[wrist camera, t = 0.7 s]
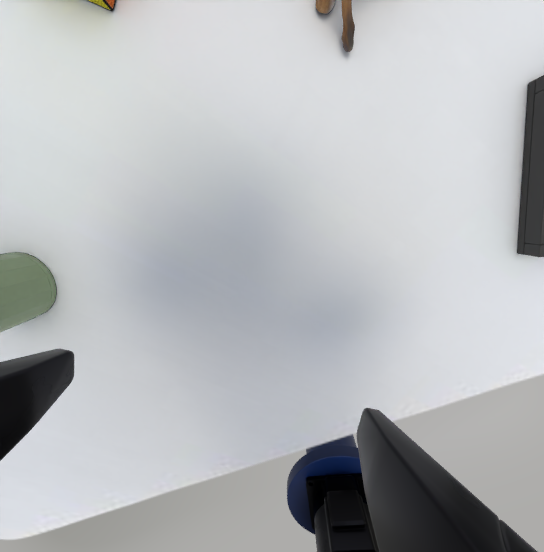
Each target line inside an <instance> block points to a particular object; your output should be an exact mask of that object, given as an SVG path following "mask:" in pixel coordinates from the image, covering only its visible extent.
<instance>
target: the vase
mask: <svg viewBox="0 0 544 552" xmlns="http://www.w3.org/2000/svg"><path fill="white" fill-rule="evenodd" d="M55 298H56V285H55V281H54V279H53V276H52V274H51V273H50V271H49V270H48V268H47V267H46V266H45V265H44V264H43V263H42V262H41V261H39V260H38V259H36V258H35V257H33V256H31V255H28V254H25V253H19V252H14V253H6V254H0V332H2V331H5V330H7V329H9V328H12V327H14V326H16V325H19V324H21V323H23V322H26V321H28V320H31V319H33V318H35V317H37V316H39V315H41V314H43V313H45V312H46V311H48V310H49V309H50V308H51V306H52V305H53V303H54V301H55Z"/></svg>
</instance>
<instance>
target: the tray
mask: <svg viewBox="0 0 544 552" xmlns="http://www.w3.org/2000/svg"><path fill="white" fill-rule="evenodd" d="M518 253H519V254H525V255H531V256H536V257H544V75H543V76H541V77H539V78H538V79H536V80H534V81H532V82H530V83H529V85H528V101H527V116H526V131H525V147H524V162H523V177H522V193H521V208H520V224H519V239H518Z"/></svg>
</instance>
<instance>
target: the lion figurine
mask: <svg viewBox="0 0 544 552" xmlns="http://www.w3.org/2000/svg"><path fill="white" fill-rule="evenodd" d="M335 1H336V0H316V9H317V10H318V11H319V12H320V13H324V14H327V13H329V12H330V11H331V10H332V8H333V6H334V4H335ZM342 17H343V33H342V41H343V47H344V49H345V51H347V52H350V51H351V50H352V48H353V37H354V30H355V25H354V22H353V17H352V6H351V0H342Z"/></svg>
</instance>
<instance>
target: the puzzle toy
mask: <svg viewBox="0 0 544 552" xmlns="http://www.w3.org/2000/svg"><path fill="white" fill-rule="evenodd" d="M88 1H90V2H93V3H95V4H97V5H99V6H102V7H104V8H106V9H108V10H111V11H113V9H114V5H115V0H88Z"/></svg>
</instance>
